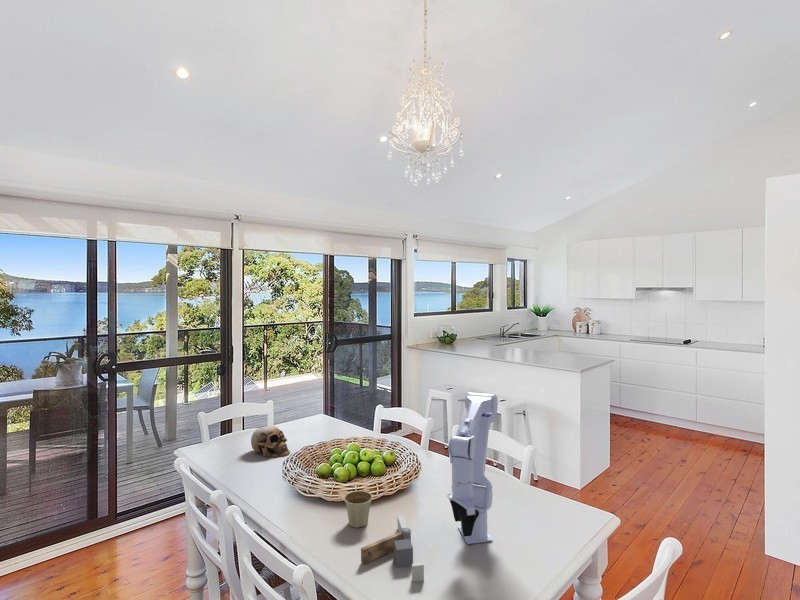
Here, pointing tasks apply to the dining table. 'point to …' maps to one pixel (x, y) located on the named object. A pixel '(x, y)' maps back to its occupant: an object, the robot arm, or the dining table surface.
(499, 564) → the dining table surface
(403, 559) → the block
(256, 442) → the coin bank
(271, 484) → the dining table surface
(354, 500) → the flower pot
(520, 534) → the dining table surface
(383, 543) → the door
